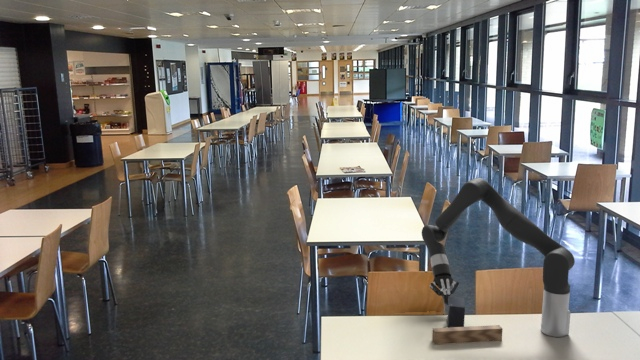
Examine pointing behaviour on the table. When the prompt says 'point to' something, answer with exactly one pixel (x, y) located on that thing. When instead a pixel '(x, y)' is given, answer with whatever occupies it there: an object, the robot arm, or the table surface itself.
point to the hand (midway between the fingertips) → (448, 304)
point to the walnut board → (467, 334)
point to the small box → (455, 312)
